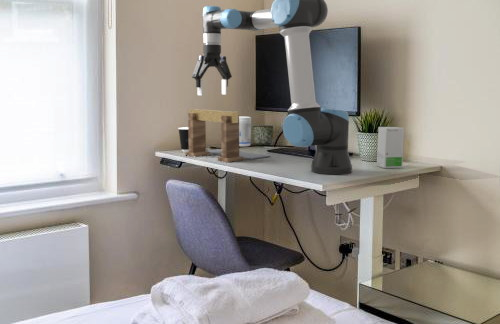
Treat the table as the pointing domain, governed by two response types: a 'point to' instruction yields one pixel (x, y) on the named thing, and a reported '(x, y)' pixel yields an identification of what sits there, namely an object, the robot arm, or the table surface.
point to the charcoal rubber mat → (241, 154)
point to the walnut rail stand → (227, 138)
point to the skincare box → (390, 147)
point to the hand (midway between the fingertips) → (212, 95)
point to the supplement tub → (244, 131)
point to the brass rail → (214, 115)
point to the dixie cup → (184, 139)
